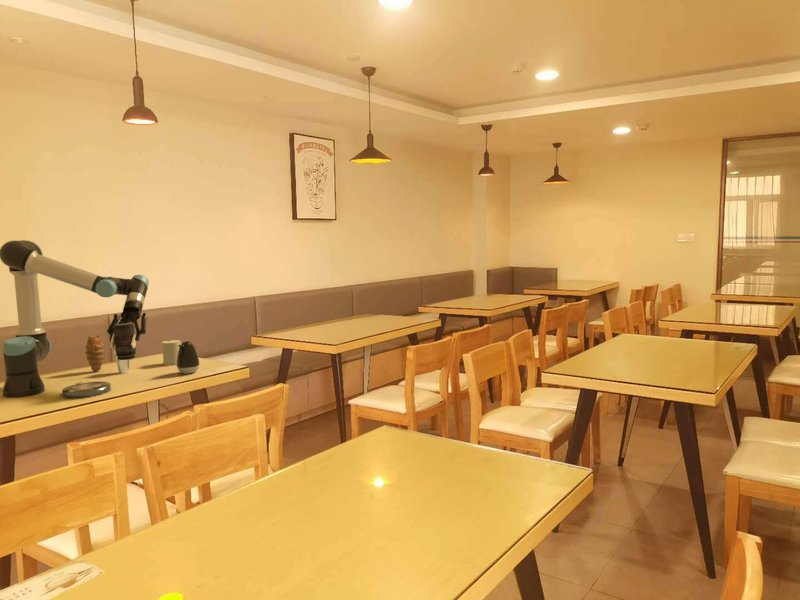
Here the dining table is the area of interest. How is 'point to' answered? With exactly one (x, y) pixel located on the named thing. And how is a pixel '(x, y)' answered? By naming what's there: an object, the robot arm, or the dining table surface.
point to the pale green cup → (170, 351)
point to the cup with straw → (122, 364)
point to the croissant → (95, 352)
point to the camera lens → (124, 341)
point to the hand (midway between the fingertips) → (122, 346)
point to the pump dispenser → (187, 358)
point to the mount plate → (86, 389)
